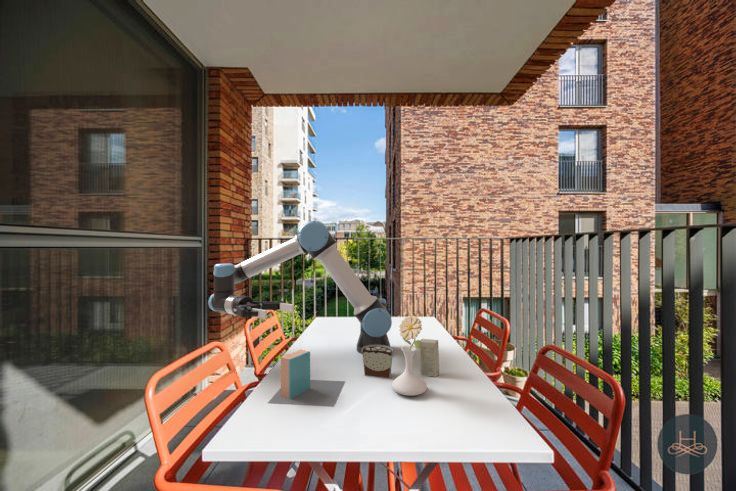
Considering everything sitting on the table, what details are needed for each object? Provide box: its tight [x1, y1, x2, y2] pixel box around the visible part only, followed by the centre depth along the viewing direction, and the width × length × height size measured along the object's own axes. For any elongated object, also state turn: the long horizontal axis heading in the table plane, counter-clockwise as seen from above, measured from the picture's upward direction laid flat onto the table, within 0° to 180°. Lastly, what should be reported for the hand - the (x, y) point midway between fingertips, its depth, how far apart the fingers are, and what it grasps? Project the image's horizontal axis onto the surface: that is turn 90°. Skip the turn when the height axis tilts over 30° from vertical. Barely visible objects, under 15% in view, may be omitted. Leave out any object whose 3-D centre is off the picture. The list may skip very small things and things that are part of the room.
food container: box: [360, 345, 395, 380], centre depth 122 cm, size 12×6×10 cm, turn 71°
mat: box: [267, 379, 346, 408], centre depth 107 cm, size 20×18×1 cm
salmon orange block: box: [280, 349, 311, 399], centre depth 106 cm, size 4×9×12 cm, turn 148°
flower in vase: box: [391, 314, 428, 397], centre depth 107 cm, size 13×11×25 cm
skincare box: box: [418, 338, 440, 378], centre depth 122 cm, size 6×4×12 cm
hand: (280, 311), depth 116 cm, fingers open, 12 cm apart
